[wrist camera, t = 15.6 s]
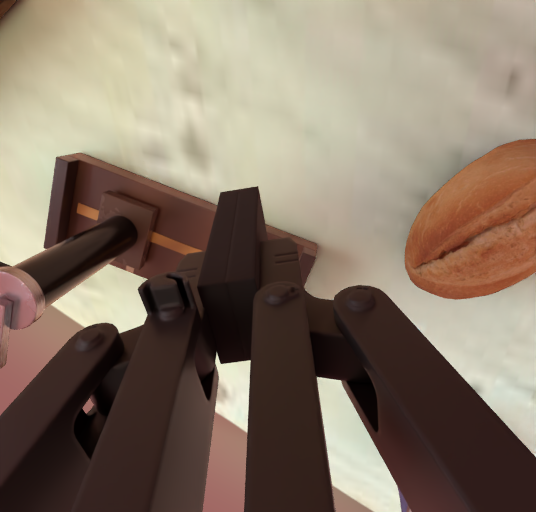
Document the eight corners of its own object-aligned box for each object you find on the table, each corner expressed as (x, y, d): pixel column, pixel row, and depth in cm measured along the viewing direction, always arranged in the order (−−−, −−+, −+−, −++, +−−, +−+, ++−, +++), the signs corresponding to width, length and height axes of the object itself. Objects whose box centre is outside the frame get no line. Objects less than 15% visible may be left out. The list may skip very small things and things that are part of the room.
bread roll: (369, 235, 37) (378, 267, 29) (512, 102, 31) (567, 101, 24) (442, 303, 38) (468, 351, 30) (591, 187, 33) (667, 210, 25)
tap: (158, 208, 36) (42, 277, 22) (140, 280, 39) (27, 383, 25) (50, 166, 37) (-137, 207, 22) (41, 240, 39) (-131, 320, 25)
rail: (317, 244, 38) (316, 257, 34) (284, 321, 41) (280, 340, 38) (79, 152, 38) (55, 156, 35) (66, 236, 42) (43, 248, 38)
